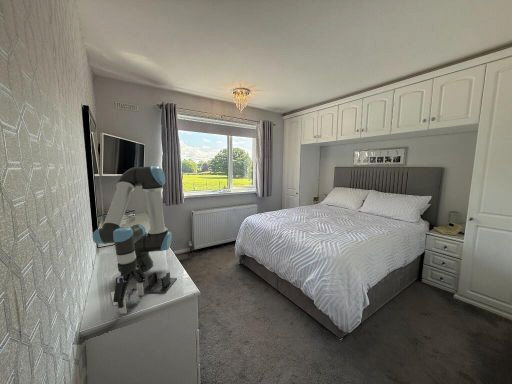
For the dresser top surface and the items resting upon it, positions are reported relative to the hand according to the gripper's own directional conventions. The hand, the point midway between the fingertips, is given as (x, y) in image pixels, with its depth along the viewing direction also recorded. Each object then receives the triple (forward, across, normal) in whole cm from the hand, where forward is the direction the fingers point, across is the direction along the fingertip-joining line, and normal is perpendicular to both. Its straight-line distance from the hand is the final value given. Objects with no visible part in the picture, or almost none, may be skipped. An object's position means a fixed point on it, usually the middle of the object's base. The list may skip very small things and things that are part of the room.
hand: (132, 303), depth 101 cm
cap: (0, 0, 0) cm, 0 cm away
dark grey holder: (0, -15, +6) cm, 16 cm away
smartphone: (+1, -6, -11) cm, 13 cm away
